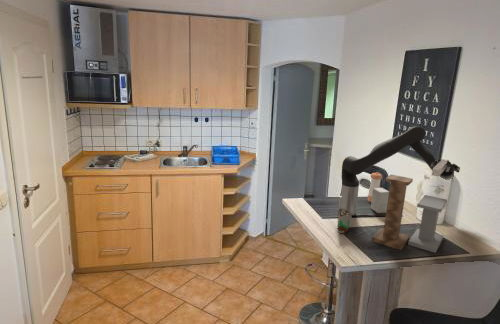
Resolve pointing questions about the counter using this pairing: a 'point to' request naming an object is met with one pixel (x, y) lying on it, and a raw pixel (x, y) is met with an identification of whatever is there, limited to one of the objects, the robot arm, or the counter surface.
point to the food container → (343, 220)
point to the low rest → (428, 224)
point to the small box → (379, 200)
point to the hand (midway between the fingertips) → (443, 161)
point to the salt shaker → (374, 184)
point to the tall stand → (394, 214)
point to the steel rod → (439, 168)
